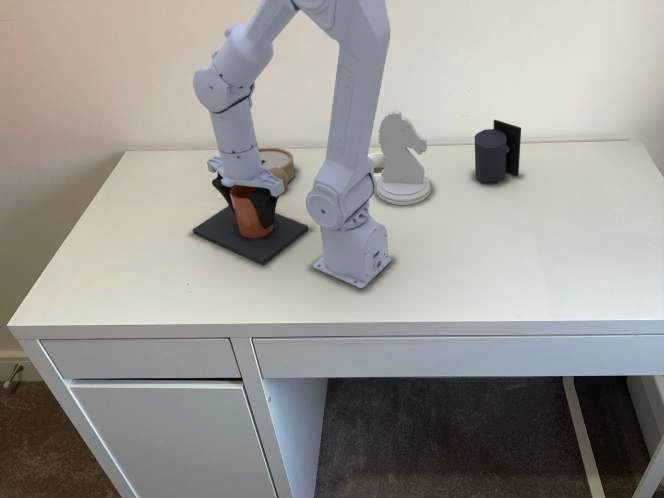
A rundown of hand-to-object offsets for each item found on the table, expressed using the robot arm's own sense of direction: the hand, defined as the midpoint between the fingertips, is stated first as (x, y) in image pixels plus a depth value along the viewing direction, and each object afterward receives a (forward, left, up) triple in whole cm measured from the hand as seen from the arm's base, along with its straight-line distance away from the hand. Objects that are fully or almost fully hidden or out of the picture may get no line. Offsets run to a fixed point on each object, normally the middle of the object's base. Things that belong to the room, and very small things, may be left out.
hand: (254, 219), depth 94 cm
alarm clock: (+10, -13, -3) cm, 16 cm away
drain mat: (+1, 0, -2) cm, 3 cm away
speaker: (-26, -36, -3) cm, 44 cm away
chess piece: (-14, -24, -3) cm, 27 cm away
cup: (0, 0, -2) cm, 2 cm away
